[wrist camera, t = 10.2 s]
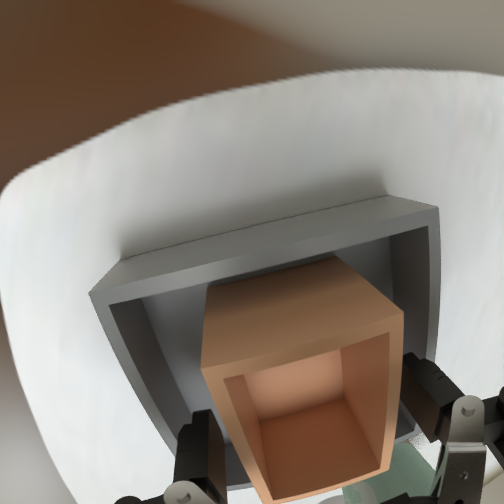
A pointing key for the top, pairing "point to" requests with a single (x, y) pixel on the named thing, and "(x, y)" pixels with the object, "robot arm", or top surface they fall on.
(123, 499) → the robot arm
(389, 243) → the big crate
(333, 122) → the top surface
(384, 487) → the coffee cup
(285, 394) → the small crate
